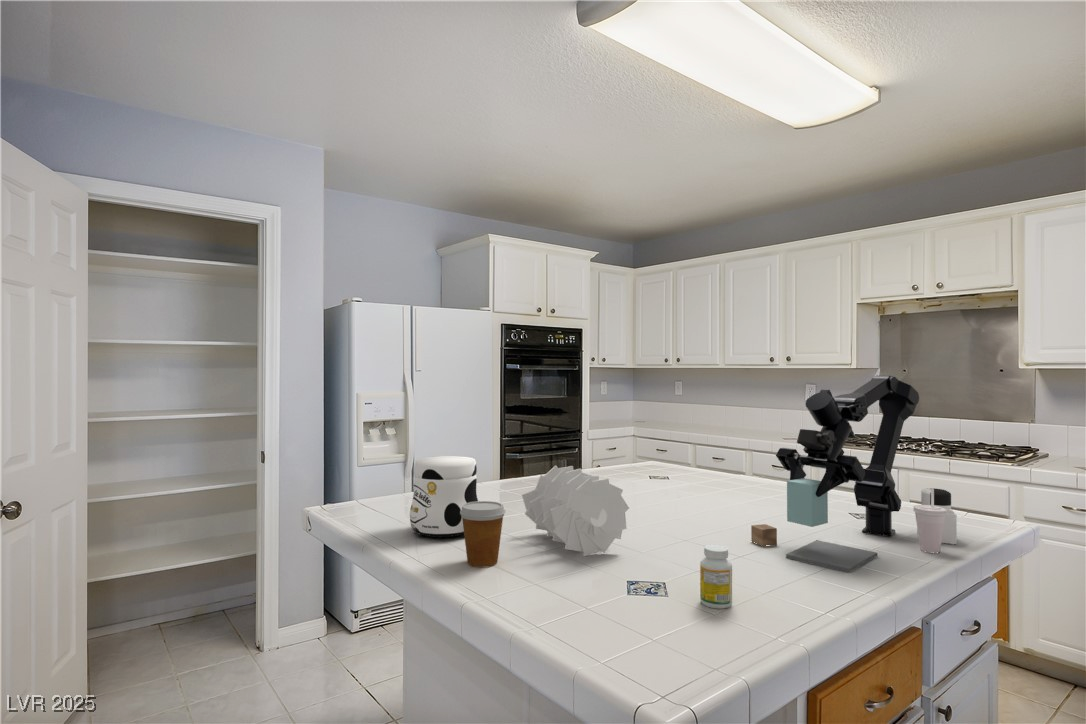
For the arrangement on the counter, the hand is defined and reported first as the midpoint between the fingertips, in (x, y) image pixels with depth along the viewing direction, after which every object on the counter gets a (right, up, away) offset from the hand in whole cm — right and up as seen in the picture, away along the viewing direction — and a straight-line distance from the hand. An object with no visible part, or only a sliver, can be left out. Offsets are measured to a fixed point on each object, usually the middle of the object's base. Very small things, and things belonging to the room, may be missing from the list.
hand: (803, 493), depth 133 cm
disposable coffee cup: (-70, -13, -7) cm, 72 cm away
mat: (+5, -13, -2) cm, 15 cm away
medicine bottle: (+37, -14, +12) cm, 41 cm away
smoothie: (+30, -14, +3) cm, 33 cm away
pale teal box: (+1, -7, +1) cm, 7 cm away
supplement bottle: (-28, -13, -28) cm, 42 cm away
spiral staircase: (-51, -14, +7) cm, 53 cm away
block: (-6, -14, +8) cm, 17 cm away
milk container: (-82, -14, +17) cm, 85 cm away
